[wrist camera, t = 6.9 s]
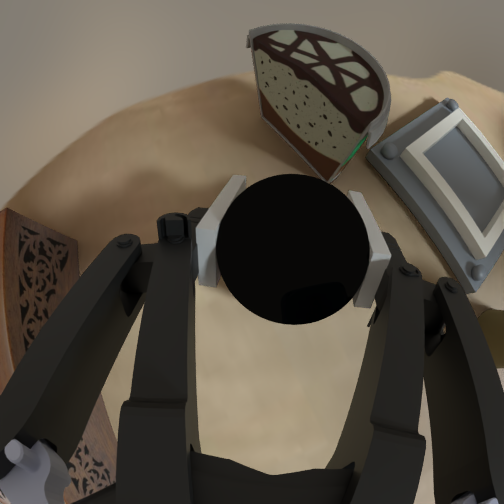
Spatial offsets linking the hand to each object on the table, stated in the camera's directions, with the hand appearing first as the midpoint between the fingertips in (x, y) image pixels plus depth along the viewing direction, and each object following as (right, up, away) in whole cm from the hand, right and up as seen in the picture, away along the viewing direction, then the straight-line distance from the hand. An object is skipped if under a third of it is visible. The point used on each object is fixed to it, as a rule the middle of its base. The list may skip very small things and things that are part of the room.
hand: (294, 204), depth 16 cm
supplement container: (0, -4, +3) cm, 6 cm away
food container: (+4, +8, +8) cm, 12 cm away
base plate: (+19, +4, +7) cm, 21 cm away
